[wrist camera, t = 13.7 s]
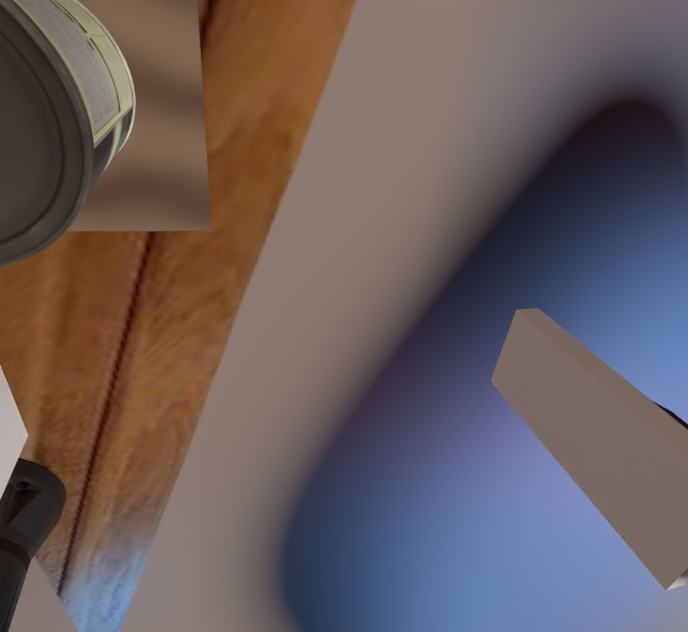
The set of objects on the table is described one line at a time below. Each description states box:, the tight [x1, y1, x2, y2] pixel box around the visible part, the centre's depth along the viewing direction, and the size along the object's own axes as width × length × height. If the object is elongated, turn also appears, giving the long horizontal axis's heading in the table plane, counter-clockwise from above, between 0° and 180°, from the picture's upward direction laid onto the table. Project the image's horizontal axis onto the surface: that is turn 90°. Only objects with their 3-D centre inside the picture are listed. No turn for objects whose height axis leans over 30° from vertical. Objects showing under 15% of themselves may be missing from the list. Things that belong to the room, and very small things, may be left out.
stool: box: [67, 0, 211, 231], centre depth 29 cm, size 18×18×12 cm
